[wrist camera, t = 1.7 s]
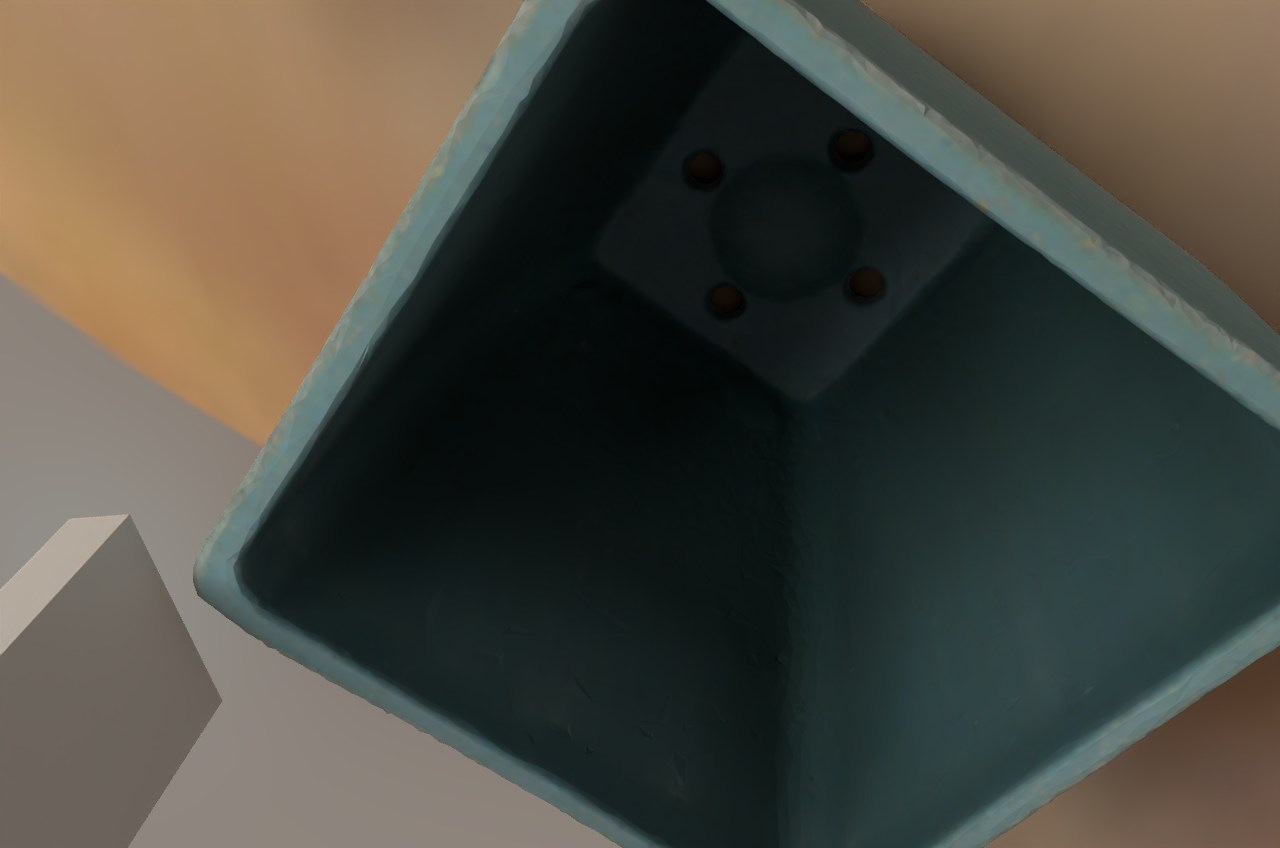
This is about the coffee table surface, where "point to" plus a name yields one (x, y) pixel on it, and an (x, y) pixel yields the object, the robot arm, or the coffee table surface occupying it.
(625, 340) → the flower pot
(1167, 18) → the coffee table surface
